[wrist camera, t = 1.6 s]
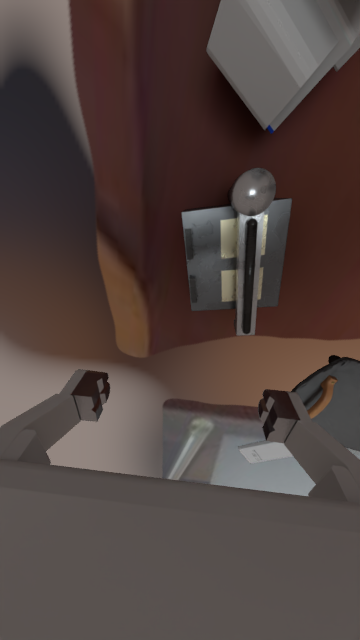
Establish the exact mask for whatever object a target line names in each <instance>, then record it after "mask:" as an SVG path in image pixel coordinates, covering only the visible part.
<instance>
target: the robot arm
mask: <svg viewBox="0 0 360 640" xmlns="http://www.w3.org/2000/svg"><path fill="white" fill-rule="evenodd" d="M107 380H108V373H105V372H97V371H90V370H81V369H78V370H77V371H75V373H74V374H73V376H72V377H71V378H70V380H69V381H68V383H67V384H66V386H65V387H64V388H63V390H62V391H61V392H60V394H55V395H53V396H52V397H50V398H49V399H47V400H45V401H43V402H41V403H40V404H38V405H37V406H35V407H33V408H31V409H29V410H28V411H26V412H24V413H23V414H21V415H19V416H18V417H16V418H14V419H12V420H11V421H9V422H7V423H6V424H4V425H2V426H1V428H0V640H360V460H359V459H358V458H357V457H356V456H355V455H354V454H352V453H351V452H350V451H349V450H348V449H346V448H345V447H344V446H343V445H342V444H341V443H339V442H338V441H337V440H336V439H335V438H333V437H332V436H331V435H330V434H329V433H328V432H326V431H325V430H324V429H323V428H322V427H321V426H319V425H318V424H317V423H316V422H312V420H311V418H310V416H309V414H308V412H307V410H306V408H305V406H304V404H303V403H302V401H301V399H300V397H299V395H298V394H297V393H296V392H288V391H278V390H268V389H266V390H264V392H263V399H261V400H260V402H259V405H258V412H259V417H260V420H261V421H262V422H263V423H264V425H263V427H262V428H263V432H264V435H265V439H266V441H270V442H277V443H284V445H285V446H286V448H287V449H288V450H289V451H290V453H291V454H292V455H293V456H294V458H295V459H296V460H297V461H298V463H299V464H300V465H301V466H302V468H303V469H304V470H305V471H306V473H307V474H308V475H309V476H310V478H311V479H312V480H313V481H314V482H315V484H316V485H315V486H314V488H313V489H312V490H311V491H310V492H309V494H308V495H309V497H308V496H300V495H292V494H283V493H275V492H267V491H259V490H251V489H243V488H235V487H227V486H219V485H211V484H203V483H194V482H186V481H178V480H170V479H162V478H154V477H146V476H137V475H129V474H121V473H113V472H105V471H97V470H88V469H80V468H72V467H64V466H56V465H50V463H51V462H50V459H49V457H48V455H47V453H46V451H47V450H48V449H49V448H50V447H51V446H53V445H54V444H55V443H56V442H57V441H58V440H59V439H60V438H62V437H63V436H64V435H65V434H66V433H67V432H69V431H70V430H71V429H72V428H73V427H74V426H75V425H77V424H78V423H79V422H80V420H86V421H98V419H99V417H100V415H101V413H102V410H103V408H102V405H103V404H104V403H106V401H107V399H108V397H109V393H110V384H109V383H108V382H107Z"/></svg>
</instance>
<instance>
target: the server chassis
mask: <svg viewBox="0 0 360 640" xmlns="http://www.w3.org/2000/svg"><path fill="white" fill-rule="evenodd" d="M231 188H232V187H231ZM231 188H230V189H229V191H228V200H229V202H230V203H231V201H230V191H231ZM291 203H292V198H274V199H273V201H272V203H271V205H270V206H269V207H268V208H267V209H266V210H265V211H264V220H263V233H262V246H261V259H260V272H259V284H258V297H257V307H271V306H278V299H279V292H280V284H281V277H282V270H283V262H284V255H285V247H286V240H287V232H288V225H289V218H290V210H291ZM237 217H238V212H237V211H236V210H235V209H234V208H233V206H232V204H225V205H218V206H210V207H202V208H194V209H187V210H184V211H183V212H182V220H183V230H184V240H185V250H186V260H187V270H188V280H189V290H190V300H191V310H192V311H200V310H218V309H236V266H237Z"/></svg>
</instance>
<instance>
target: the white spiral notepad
mask: <svg viewBox="0 0 360 640" xmlns="http://www.w3.org/2000/svg"><path fill="white" fill-rule="evenodd" d="M239 451H240V452H241V453H242V454H243V456H244V457H245V458H246V459H247V460H248V461H249V463H250V464H251V463H257V462H263V461H268V460H274V459H280V458H286V457H291V456H293V455H292V454H291V453H290V451H289V450H288V449H287V448H286V446H285V445H284V443H277V442H270V441H266V440H264V441H260V442H255V443H251V444H246V445H242V446H239Z"/></svg>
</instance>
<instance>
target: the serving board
mask: <svg viewBox="0 0 360 640" xmlns="http://www.w3.org/2000/svg"><path fill="white" fill-rule="evenodd" d="M291 392H296V393H297V394H298V395H299V397H300V399H301V401H302V403H303V404H304V406H305V408H306V410H307V412H308V414H309V416H310V418H311V420H312V422H316V423H317V424H318V425H319V426H321V427H322V428H323V429H324V430H325V431H326V432H328V433H329V434H330V435H331V436H332V437H333V438H335V439H336V440H337V441H338V442H339V443H341V444H342V445H343V446H344V447H346V448H350V449H353V450H357V451H360V361H358V360H355V359H352V358H348V357H342V358H340V357H339V356H335V355H331V356H330V357H329V364H328V365H326V366H324V367H322V368H321V369H319V370H317V371H316V372H314V373H313V374H311V375H310V376H308V377H307V378H306V379H305V380H303V381H302V382H300V383H299V384H298V385H297V386H296V387H295V388H294V389H293V390H292V391H291Z"/></svg>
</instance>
